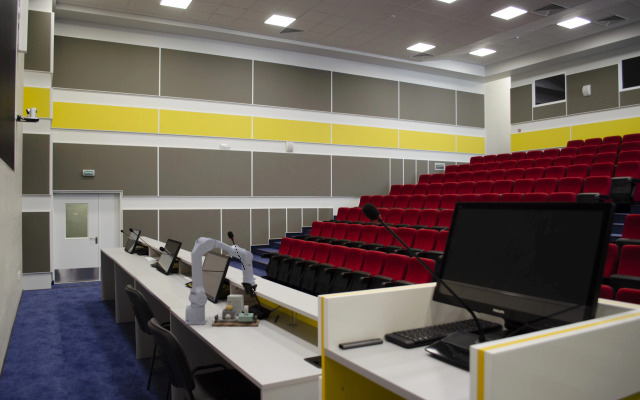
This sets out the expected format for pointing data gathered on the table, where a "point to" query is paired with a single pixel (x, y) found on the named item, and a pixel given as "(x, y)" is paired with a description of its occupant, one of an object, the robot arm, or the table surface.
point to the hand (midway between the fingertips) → (250, 295)
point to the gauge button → (228, 307)
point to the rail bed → (234, 322)
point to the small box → (236, 303)
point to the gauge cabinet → (228, 314)
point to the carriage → (245, 315)
